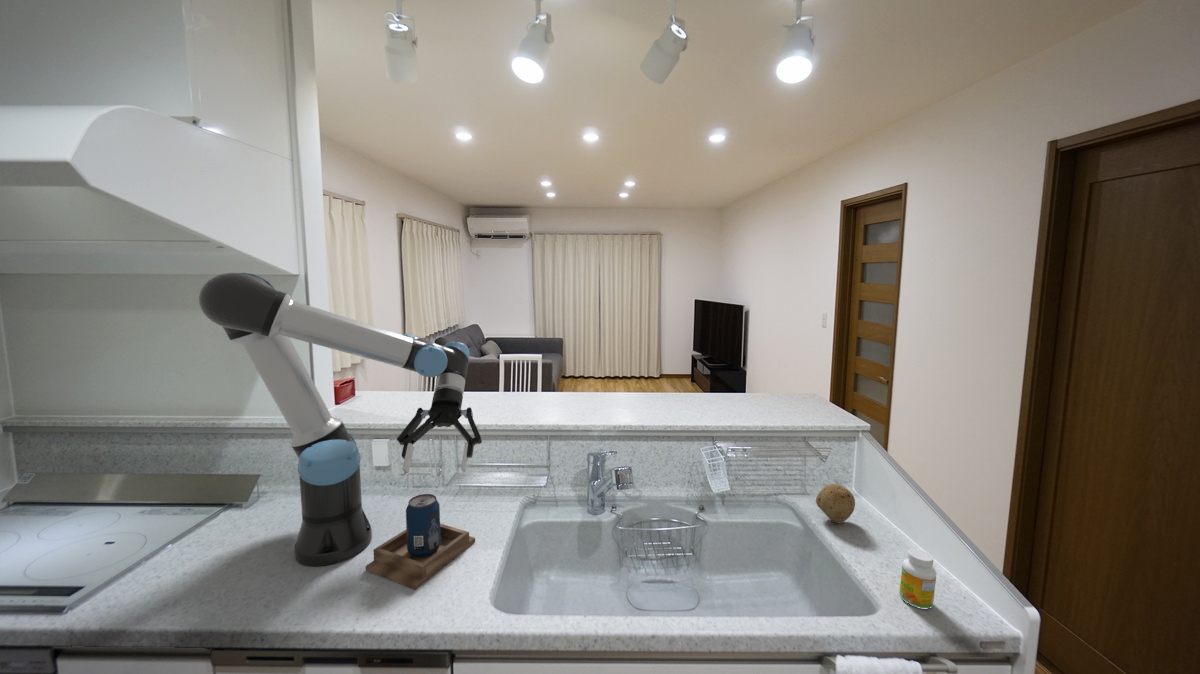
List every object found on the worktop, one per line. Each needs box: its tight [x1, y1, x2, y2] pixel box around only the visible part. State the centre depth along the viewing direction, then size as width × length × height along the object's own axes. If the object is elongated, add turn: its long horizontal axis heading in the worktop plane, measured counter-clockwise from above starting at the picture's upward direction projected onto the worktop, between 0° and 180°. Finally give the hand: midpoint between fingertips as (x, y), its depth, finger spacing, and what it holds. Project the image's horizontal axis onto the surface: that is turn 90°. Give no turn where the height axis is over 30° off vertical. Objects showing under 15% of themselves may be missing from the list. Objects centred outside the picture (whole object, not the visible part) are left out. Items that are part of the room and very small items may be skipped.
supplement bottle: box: [898, 548, 937, 608], centre depth 85 cm, size 5×5×10 cm
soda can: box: [405, 493, 441, 559], centre depth 97 cm, size 7×7×12 cm
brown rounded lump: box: [815, 483, 856, 524], centre depth 114 cm, size 9×9×10 cm
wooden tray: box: [365, 523, 476, 590], centre depth 97 cm, size 14×18×4 cm
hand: (434, 470), depth 105 cm, fingers open, 13 cm apart
